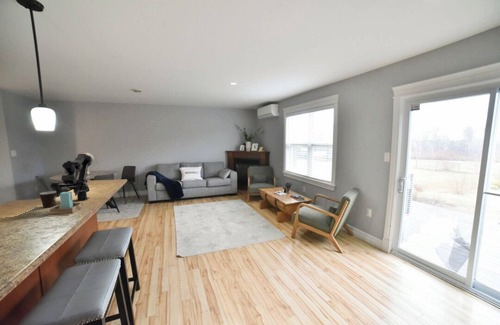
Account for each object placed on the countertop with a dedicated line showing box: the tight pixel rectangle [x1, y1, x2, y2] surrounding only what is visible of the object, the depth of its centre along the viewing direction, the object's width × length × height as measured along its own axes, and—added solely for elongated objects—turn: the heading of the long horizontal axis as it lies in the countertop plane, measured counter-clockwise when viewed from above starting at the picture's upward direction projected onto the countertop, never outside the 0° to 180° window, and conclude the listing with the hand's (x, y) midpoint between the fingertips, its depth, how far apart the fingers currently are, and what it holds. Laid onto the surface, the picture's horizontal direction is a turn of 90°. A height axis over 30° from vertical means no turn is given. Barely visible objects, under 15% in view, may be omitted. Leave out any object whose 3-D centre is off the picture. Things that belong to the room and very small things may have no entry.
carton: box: [47, 202, 85, 217], centre depth 136 cm, size 18×12×4 cm
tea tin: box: [59, 191, 74, 209], centre depth 136 cm, size 5×5×12 cm
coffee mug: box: [39, 190, 57, 209], centre depth 146 cm, size 12×9×10 cm
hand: (66, 196), depth 136 cm, fingers open, 9 cm apart
